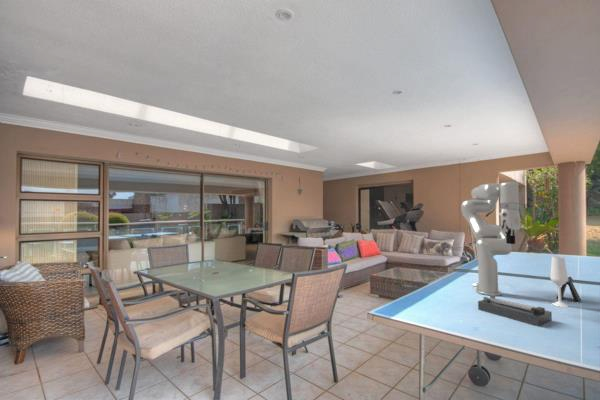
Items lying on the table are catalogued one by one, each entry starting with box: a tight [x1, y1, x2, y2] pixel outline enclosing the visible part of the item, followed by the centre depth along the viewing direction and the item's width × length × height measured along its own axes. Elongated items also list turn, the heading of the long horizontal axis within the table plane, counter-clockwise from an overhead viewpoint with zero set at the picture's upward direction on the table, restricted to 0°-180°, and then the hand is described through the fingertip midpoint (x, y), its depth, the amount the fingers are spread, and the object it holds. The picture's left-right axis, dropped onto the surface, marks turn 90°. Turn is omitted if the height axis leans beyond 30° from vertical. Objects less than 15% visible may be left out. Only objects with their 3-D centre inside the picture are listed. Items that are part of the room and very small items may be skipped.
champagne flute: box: [549, 255, 569, 308], centre depth 147 cm, size 7×7×24 cm
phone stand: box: [555, 275, 582, 303], centre depth 156 cm, size 9×6×12 cm, turn 39°
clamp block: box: [477, 295, 553, 328], centre depth 132 cm, size 24×12×6 cm, turn 29°
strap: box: [487, 297, 537, 311], centre depth 133 cm, size 18×4×1 cm, turn 29°
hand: (510, 243), depth 145 cm, fingers closed
